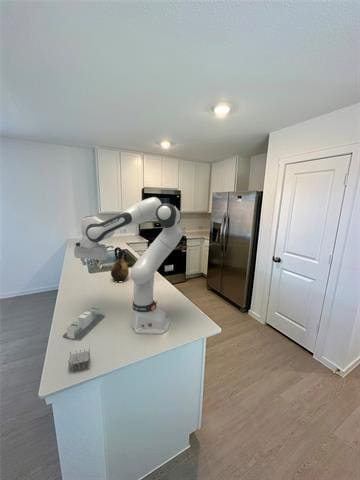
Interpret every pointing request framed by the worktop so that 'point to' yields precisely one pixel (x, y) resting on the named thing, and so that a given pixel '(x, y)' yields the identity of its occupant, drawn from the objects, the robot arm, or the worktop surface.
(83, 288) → the worktop surface
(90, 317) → the block
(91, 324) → the rail plate
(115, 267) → the ceramic jug
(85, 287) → the worktop surface
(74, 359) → the building frame
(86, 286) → the worktop surface
